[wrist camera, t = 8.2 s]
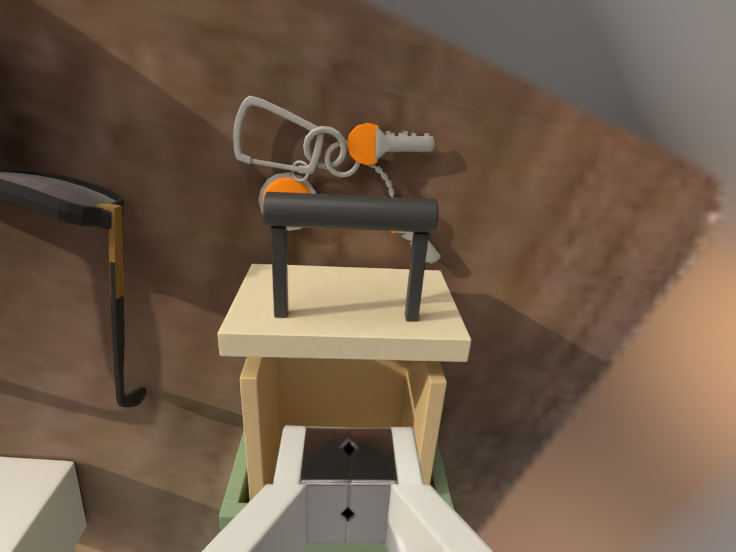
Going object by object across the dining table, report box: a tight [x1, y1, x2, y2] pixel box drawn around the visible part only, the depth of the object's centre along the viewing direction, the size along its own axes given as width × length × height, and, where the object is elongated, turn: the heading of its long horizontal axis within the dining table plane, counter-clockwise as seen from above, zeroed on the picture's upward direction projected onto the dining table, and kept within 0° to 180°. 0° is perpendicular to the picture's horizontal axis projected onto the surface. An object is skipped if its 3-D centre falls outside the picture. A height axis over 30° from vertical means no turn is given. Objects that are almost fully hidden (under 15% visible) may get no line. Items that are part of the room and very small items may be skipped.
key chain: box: [233, 96, 441, 264], centre depth 24 cm, size 13×7×1 cm, turn 72°
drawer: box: [218, 192, 471, 501], centre depth 24 cm, size 20×11×7 cm, turn 177°
